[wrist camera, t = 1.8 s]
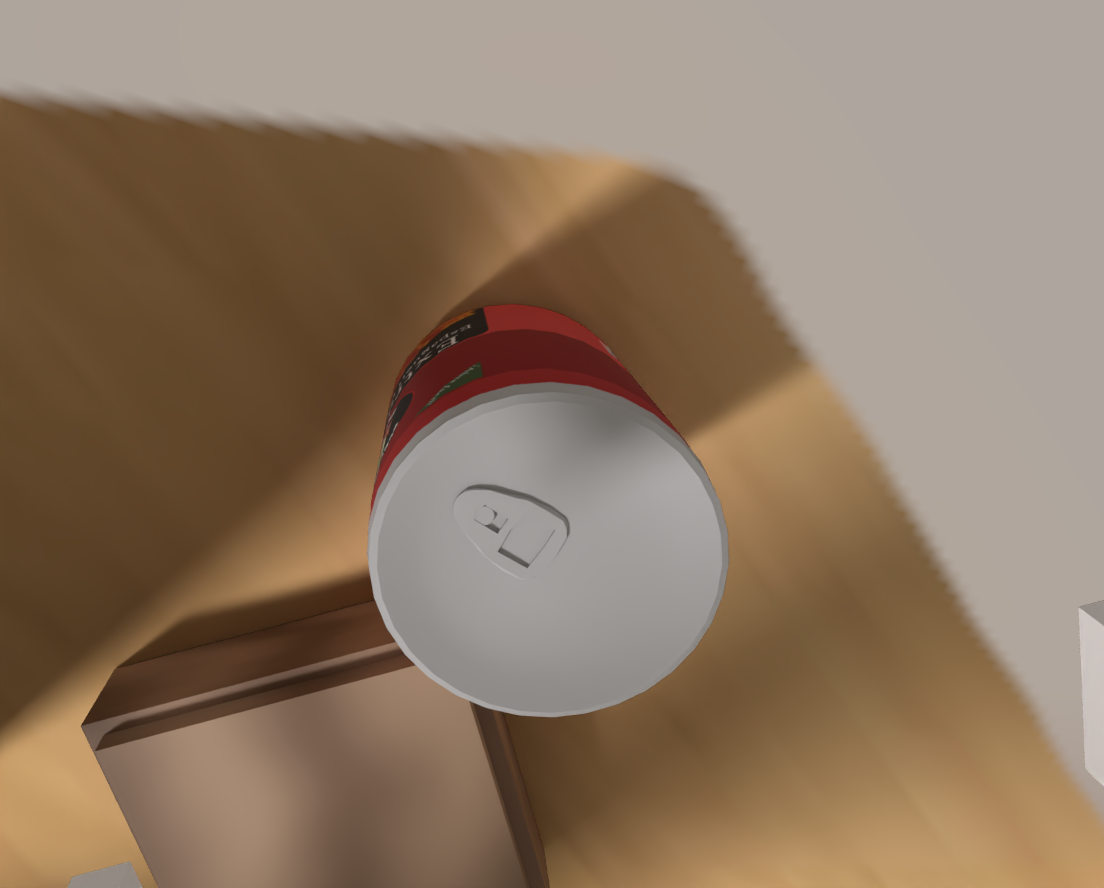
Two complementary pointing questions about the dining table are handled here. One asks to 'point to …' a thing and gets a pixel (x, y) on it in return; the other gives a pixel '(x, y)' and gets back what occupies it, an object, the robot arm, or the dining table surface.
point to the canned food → (539, 519)
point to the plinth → (313, 766)
